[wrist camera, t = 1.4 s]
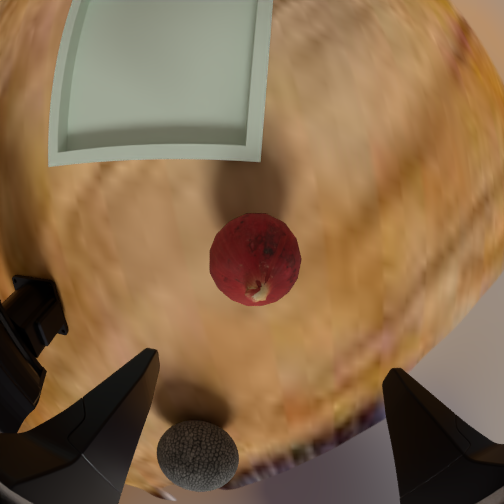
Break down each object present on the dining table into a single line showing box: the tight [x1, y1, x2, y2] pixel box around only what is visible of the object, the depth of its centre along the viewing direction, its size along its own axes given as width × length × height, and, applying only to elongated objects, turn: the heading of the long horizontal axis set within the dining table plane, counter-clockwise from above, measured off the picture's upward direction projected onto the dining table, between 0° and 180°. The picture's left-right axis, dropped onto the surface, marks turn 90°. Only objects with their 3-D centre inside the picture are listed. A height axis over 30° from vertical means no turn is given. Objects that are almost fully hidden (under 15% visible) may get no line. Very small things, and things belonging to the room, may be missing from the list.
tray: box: [48, 0, 273, 167], centre depth 14 cm, size 16×16×2 cm
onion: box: [210, 213, 301, 306], centre depth 17 cm, size 6×6×8 cm
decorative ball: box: [157, 420, 239, 492], centre depth 26 cm, size 10×10×10 cm
